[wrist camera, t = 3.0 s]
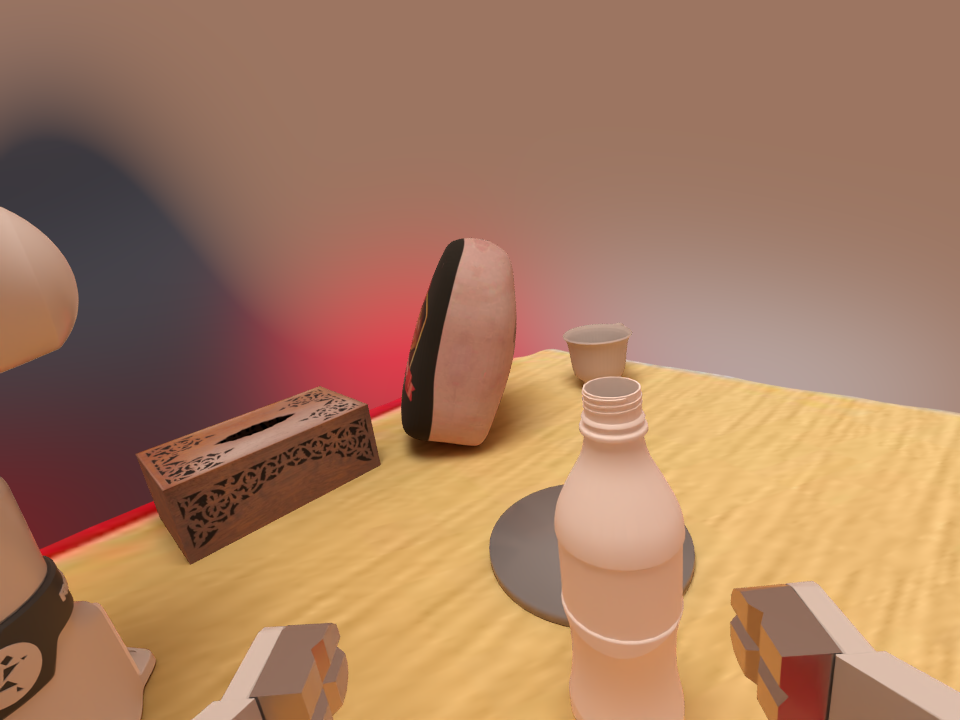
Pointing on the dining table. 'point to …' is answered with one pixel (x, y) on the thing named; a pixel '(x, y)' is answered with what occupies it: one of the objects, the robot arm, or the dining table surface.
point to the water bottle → (620, 564)
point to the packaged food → (461, 346)
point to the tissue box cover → (257, 467)
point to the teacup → (598, 350)
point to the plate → (542, 555)
